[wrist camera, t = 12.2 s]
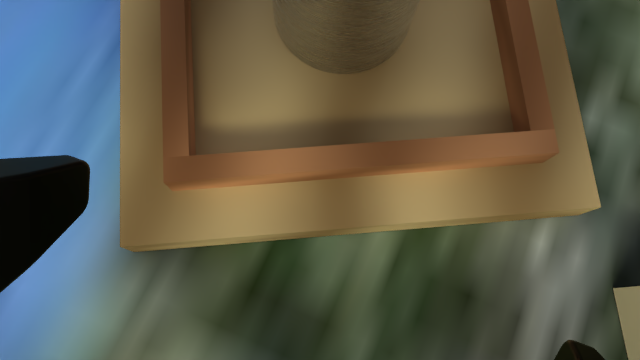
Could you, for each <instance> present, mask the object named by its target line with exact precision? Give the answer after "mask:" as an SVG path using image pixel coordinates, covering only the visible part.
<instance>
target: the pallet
mask: <svg viewBox="0 0 640 360" xmlns="http://www.w3.org/2000/svg"><path fill="white" fill-rule="evenodd" d="M600 207H601V205H600V200H599V196H598V191H597V187H596V182H595V177H594V173H593V168H592V164H591V159H590V155H589V150H588V145H587V141H586V136H585V132H584V127H583V123H582V118H581V113H580V109H579V104H578V100H577V95H576V91H575V86H574V82H573V77H572V72H571V68H570V63H569V59H568V54H567V50H566V45H565V40H564V36H563V31H562V27H561V22H560V18H559V13H558V8H557V4H556V0H420V1H419V4H418V6H417V9H416V11H415V14H414V17H413V19H412V22H411V24H410V27H409V29H408V32H407V35H406V37H405V39H404V41H403V43H402V45H401V46H400V47H399V49H398V50H397V51H396V52H395V53H394V54H393V55H392V56H391V57H390V58H389V59H388V60H387V61H385V62H384V63H382V64H380V65H379V66H377V67H375V68H372V69H370V70H367V71H364V72H360V73H354V74H334V73H329V72H324V71H321V70H318V69H315V68H313V67H311V66H309V65H307V64H305V63H304V62H302V61H301V60H299V59H298V58H297V57H296V56H294V55H293V54H292V53H291V52H290V51H289V49H288V48H287V47H286V46H285V44H284V43H283V41H282V40H281V38H280V36H279V34H278V32H277V29H276V26H275V21H274V14H273V1H272V0H120V247H122V248H125V249H127V250H130V251H133V252H139V251H151V250H163V249H175V248H188V247H200V246H212V245H224V244H236V243H248V242H260V241H272V240H284V239H296V238H308V237H320V236H332V235H344V234H356V233H368V232H380V231H392V230H404V229H416V228H428V227H440V226H452V225H465V224H477V223H489V222H501V221H513V220H525V219H537V218H549V217H561V216H573V215H580V214H583V213H586V212H589V211H591V210H594V209H597V208H600Z"/></svg>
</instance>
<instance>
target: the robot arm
mask: <svg viewBox="0 0 640 360" xmlns="http://www.w3.org/2000/svg"><path fill="white" fill-rule="evenodd" d="M89 180H90V168H89V165H88V164H87V162H85V161H83V160H80V159H78V158H75V157H72V156H69V155H61V156H43V157H26V158H8V159H0V292H2V291H3V290H4V289H5V288H6V287H7V286H9V285H10V284H11V283H12V282H13V281H14V280H16V279H17V278H18V277H19V276H20V275H22V274H23V273H24V272H25V271H26V270H27V269H28V268H29V267H30V266H32V265H33V264H34V263H35V262H36V261H37V260H38V259H39V258H40V257H41V256H42V255H43V254H44V253H45V251H46V250H47V249H48V248H49V247H50V246H51V245H52V244H53V243H54V242H55V241H56V240H57V239H58V238H59V237H60V236H61V235H62V234H63V233H64V232H65V231H66V230H67V229H68V228H69V227H70V226H71V225H72V223H73V222H74V221H75V220H76V219H77V218H78V217H79V216H80V215H81V214H82V213H83V212H84V210H85V209H86V207H87V204H88V200H89ZM554 360H605V359H604V358H603V357H602V356H601V355H600V354H599V353H598V352H597V350H595V349H594V348H592V347H590V346H587V345H585V344H582V343H579V342H576V341H574V340H568V341H566V342H565V343H564V344H563V345H562V347H561V348H560V350H559V352H558V354H557V355H556V357H555V359H554Z"/></svg>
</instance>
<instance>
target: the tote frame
mask: <svg viewBox="0 0 640 360" xmlns="http://www.w3.org/2000/svg"><path fill="white" fill-rule="evenodd" d="M613 291H614V296H615V300H616V305H617V309H618V314H619V319H620V323H621V328H622V332H623V337H624V342H625V346H626V351H627V356H628V360H640V286H633V287H622V288H613Z"/></svg>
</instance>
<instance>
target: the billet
mask: <svg viewBox="0 0 640 360" xmlns="http://www.w3.org/2000/svg"><path fill="white" fill-rule="evenodd" d="M272 1H273V14H274V21H275V26H276V29H277V32H278V34H279V36H280V38H281V40H282V41H283V43H284V44H285V46H286V47H287V48H288V49H289V51H290V52H291V53H292V54H293V55H294V56H296V57H297V58H298V59H299V60H301V61H302V62H304V63H305V64H307V65H309V66H311V67H313V68H315V69H318V70H321V71H324V72H329V73H334V74H354V73H360V72H364V71H367V70H370V69H372V68H375V67H377V66H379V65H380V64H382V63H384V62H385V61H387V60H388V59H389V58H390V57H391V56H392V55H393V54H394V53H395V52H396V51H397V50H398V49H399V47H400V46H401V45H402V43H403V41H404V39H405V37H406V35H407V32H408V29H409V27H410V24H411V22H412V19H413V17H414V14H415V11H416V9H417V6H418V4H419V1H420V0H272Z"/></svg>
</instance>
